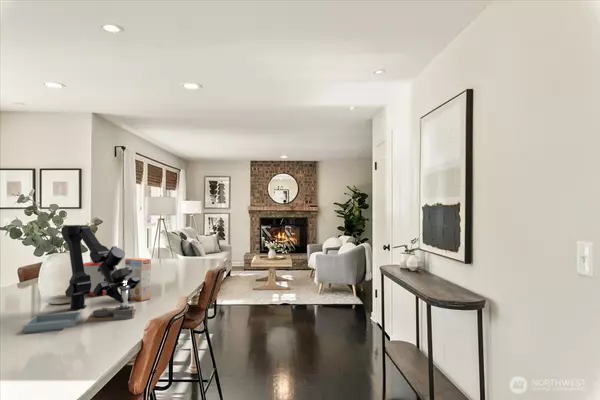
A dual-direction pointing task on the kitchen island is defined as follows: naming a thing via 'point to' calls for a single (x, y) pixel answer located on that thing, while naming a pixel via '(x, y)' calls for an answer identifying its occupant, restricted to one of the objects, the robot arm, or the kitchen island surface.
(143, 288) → the cracker box
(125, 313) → the plate
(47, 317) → the tray
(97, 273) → the citrus juicer
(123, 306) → the lock pin
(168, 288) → the kitchen island surface
